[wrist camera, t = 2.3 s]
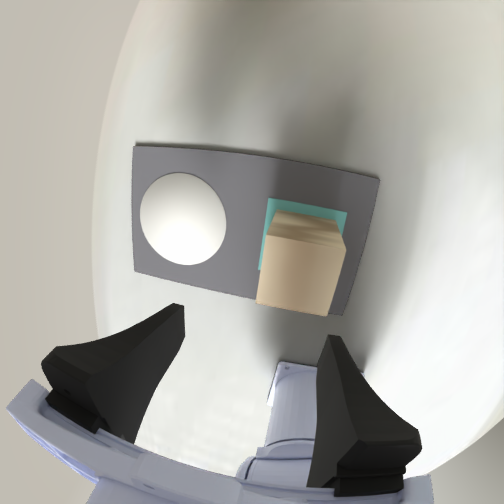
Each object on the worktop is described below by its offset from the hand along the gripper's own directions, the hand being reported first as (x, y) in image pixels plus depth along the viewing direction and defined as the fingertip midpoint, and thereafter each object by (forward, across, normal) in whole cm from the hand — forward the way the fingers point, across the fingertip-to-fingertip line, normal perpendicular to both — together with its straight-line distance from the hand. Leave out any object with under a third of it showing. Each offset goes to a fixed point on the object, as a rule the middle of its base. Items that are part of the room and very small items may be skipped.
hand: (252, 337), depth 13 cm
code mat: (+10, +3, -2) cm, 11 cm away
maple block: (+10, -2, -2) cm, 10 cm away
